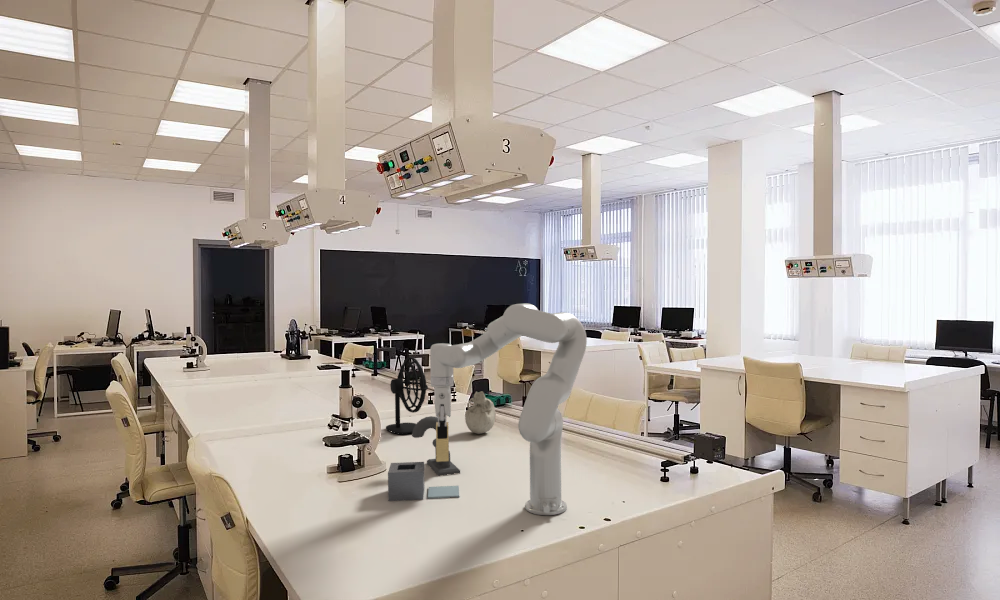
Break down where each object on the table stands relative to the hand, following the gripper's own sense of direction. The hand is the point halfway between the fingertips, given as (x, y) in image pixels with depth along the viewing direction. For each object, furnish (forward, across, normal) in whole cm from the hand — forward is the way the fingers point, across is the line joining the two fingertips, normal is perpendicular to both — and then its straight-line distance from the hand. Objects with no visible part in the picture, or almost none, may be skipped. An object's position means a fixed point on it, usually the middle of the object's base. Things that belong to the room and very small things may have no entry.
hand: (442, 436), depth 197 cm
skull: (+19, +82, -17) cm, 86 cm away
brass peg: (+8, 0, 0) cm, 8 cm away
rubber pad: (+19, 0, 0) cm, 19 cm away
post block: (+19, 0, +12) cm, 22 cm away
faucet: (+19, +27, +4) cm, 33 cm away
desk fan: (+19, +93, +18) cm, 96 cm away
